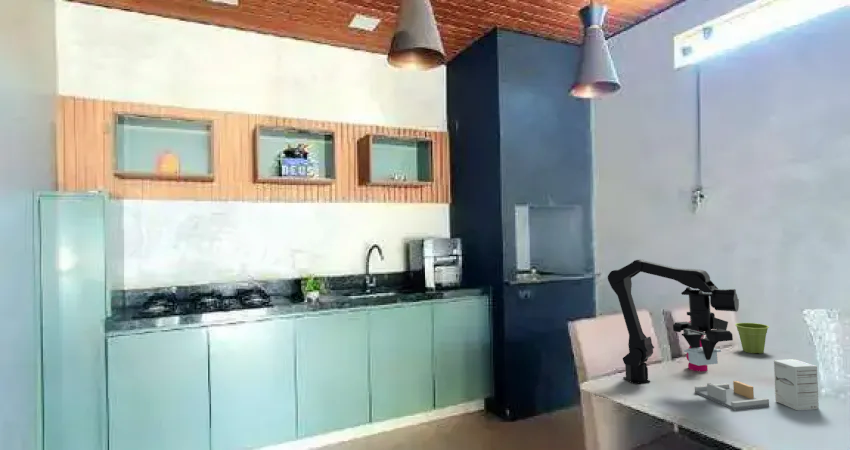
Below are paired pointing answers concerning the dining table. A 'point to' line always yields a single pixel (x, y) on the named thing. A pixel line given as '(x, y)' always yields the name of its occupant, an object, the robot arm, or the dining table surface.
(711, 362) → the light blue knobbed block
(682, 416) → the dining table surface
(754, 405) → the mounting plate
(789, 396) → the supplement box
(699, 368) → the pepper mill
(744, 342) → the plant pot
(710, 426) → the dining table surface
